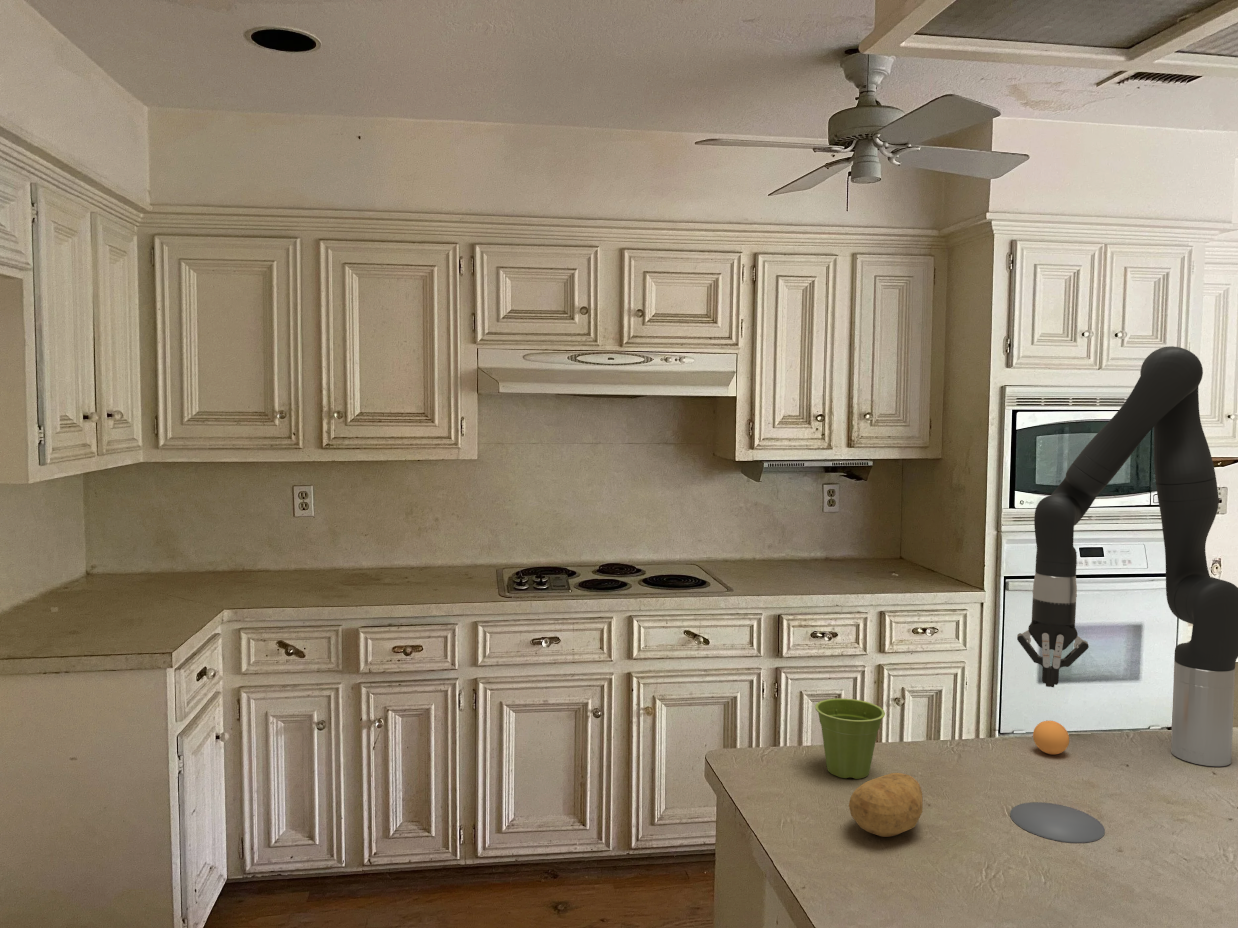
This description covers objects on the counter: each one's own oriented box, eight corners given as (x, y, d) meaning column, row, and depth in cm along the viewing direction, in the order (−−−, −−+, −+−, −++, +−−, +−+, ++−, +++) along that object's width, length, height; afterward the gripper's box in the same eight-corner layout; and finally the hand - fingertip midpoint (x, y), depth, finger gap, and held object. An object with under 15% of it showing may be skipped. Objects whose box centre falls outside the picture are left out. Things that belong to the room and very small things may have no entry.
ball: (1043, 744, 166) (1044, 713, 166) (1075, 754, 161) (1076, 722, 161) (1026, 751, 163) (1026, 719, 162) (1057, 762, 158) (1058, 729, 157)
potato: (940, 825, 134) (941, 774, 133) (894, 858, 124) (895, 803, 123) (881, 805, 141) (882, 756, 140) (834, 834, 131) (834, 782, 130)
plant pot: (876, 791, 146) (877, 724, 145) (806, 777, 151) (806, 713, 151) (890, 765, 156) (891, 704, 156) (824, 753, 162) (825, 693, 161)
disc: (1039, 796, 144) (1039, 795, 144) (1121, 827, 133) (1121, 825, 133) (993, 816, 136) (993, 815, 136) (1075, 851, 126) (1075, 850, 126)
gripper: (1016, 597, 168) (1012, 686, 169) (1094, 604, 162) (1090, 696, 163) (1016, 590, 175) (1012, 675, 176) (1091, 597, 169) (1087, 685, 170)
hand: (1050, 685), depth 169 cm, fingers closed
